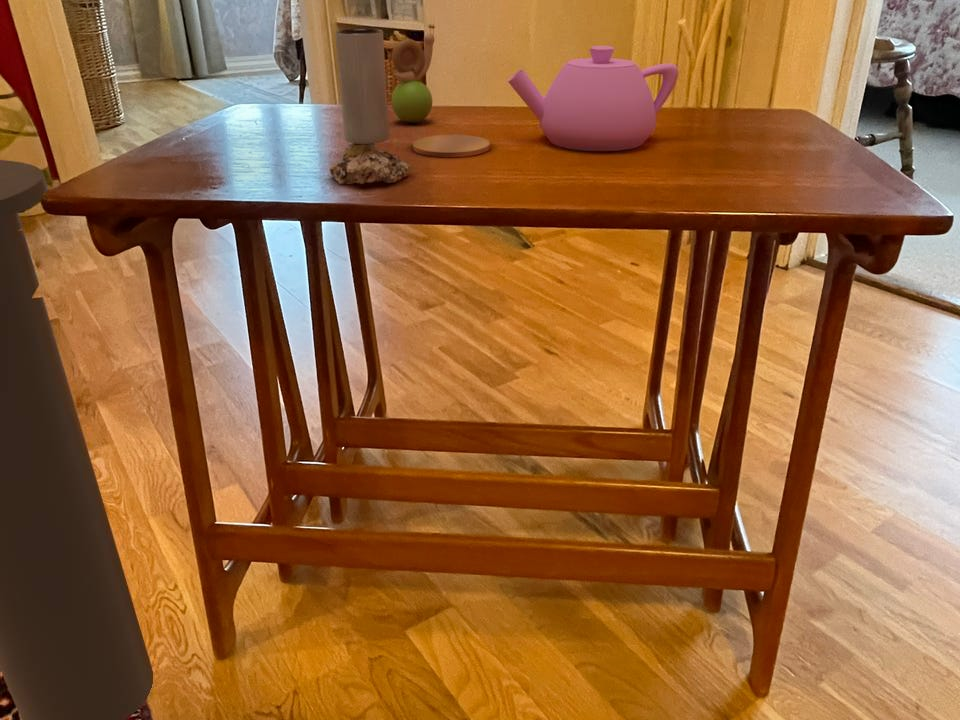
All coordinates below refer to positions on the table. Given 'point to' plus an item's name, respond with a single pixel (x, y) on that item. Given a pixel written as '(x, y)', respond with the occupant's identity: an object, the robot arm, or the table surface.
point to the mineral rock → (368, 166)
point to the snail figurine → (412, 79)
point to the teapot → (598, 102)
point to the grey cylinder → (363, 85)
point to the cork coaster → (451, 146)
